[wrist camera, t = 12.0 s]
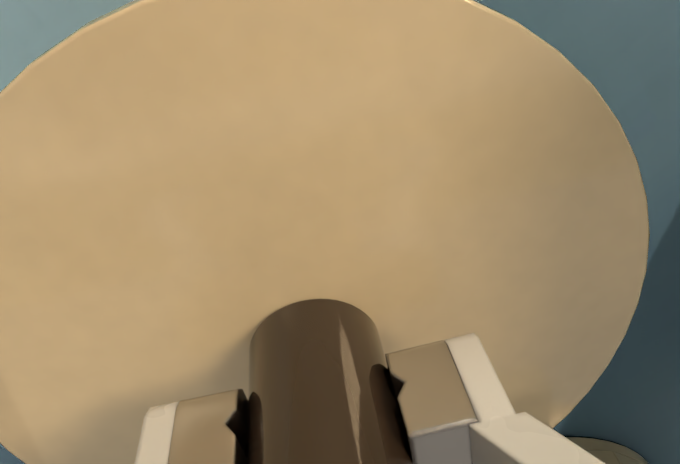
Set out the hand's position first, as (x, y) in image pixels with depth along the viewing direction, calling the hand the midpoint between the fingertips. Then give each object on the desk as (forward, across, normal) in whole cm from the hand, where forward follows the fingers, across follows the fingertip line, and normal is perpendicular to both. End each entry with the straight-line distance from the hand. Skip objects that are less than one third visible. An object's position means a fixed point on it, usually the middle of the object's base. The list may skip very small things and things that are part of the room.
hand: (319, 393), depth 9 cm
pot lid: (+2, 0, 0) cm, 2 cm away
